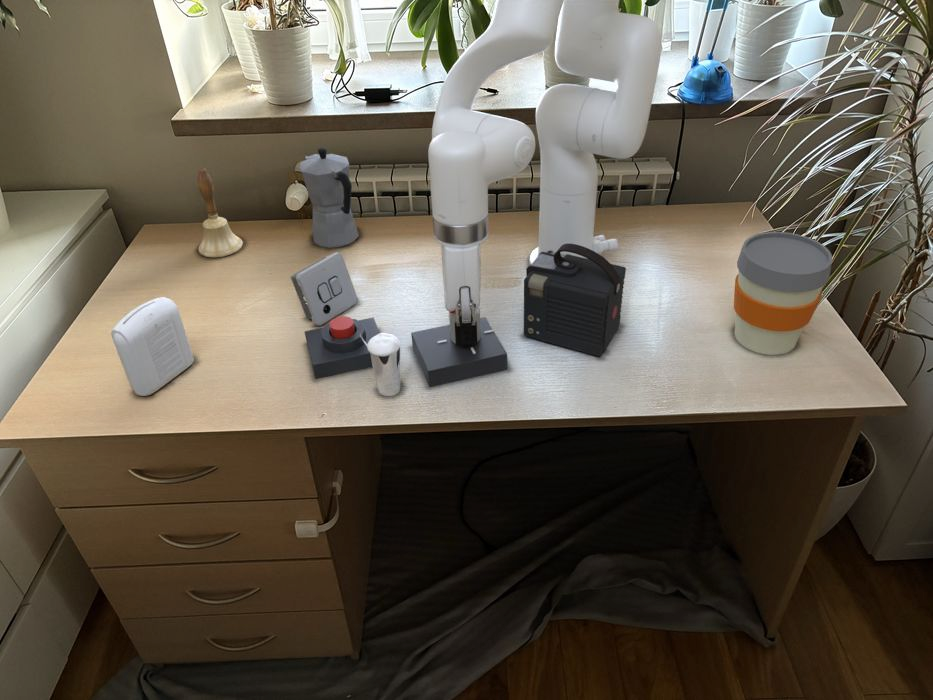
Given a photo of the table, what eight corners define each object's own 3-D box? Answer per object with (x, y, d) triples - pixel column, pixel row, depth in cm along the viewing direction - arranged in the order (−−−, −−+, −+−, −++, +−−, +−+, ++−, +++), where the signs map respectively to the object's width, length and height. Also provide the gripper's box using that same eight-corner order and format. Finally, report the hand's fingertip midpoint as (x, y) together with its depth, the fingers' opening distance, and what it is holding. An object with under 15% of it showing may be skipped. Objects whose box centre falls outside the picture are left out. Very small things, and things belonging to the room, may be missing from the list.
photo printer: (179, 353, 117) (157, 286, 109) (199, 361, 115) (178, 293, 108) (127, 392, 110) (99, 323, 102) (148, 400, 108) (121, 331, 100)
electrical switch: (318, 329, 121) (305, 278, 116) (297, 320, 124) (284, 271, 119) (359, 303, 127) (348, 253, 121) (338, 295, 129) (327, 247, 124)
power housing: (375, 330, 120) (372, 307, 117) (387, 363, 113) (384, 339, 110) (307, 344, 117) (302, 321, 115) (315, 379, 111) (310, 355, 108)
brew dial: (475, 325, 115) (474, 296, 112) (485, 341, 111) (484, 312, 108) (446, 331, 114) (444, 302, 111) (455, 348, 110) (454, 319, 107)
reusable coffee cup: (808, 369, 108) (835, 281, 99) (718, 353, 112) (737, 267, 103) (808, 321, 118) (833, 237, 109) (726, 308, 121) (743, 226, 112)
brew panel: (485, 331, 119) (484, 314, 117) (507, 369, 111) (507, 352, 109) (411, 346, 116) (410, 330, 114) (429, 387, 108) (427, 370, 106)
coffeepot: (298, 232, 147) (281, 144, 136) (340, 217, 152) (327, 131, 141) (336, 262, 137) (321, 170, 126) (380, 246, 142) (369, 156, 131)
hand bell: (235, 232, 148) (216, 156, 138) (248, 249, 142) (229, 171, 133) (193, 244, 145) (171, 166, 135) (205, 262, 139) (183, 182, 129)
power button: (352, 323, 114) (351, 314, 113) (357, 336, 112) (355, 327, 111) (329, 328, 114) (327, 318, 113) (333, 341, 111) (331, 332, 110)
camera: (544, 302, 125) (547, 221, 116) (624, 322, 119) (634, 239, 110) (517, 337, 117) (517, 253, 108) (602, 360, 112) (610, 274, 103)
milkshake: (368, 380, 110) (360, 325, 104) (404, 378, 110) (398, 322, 104) (367, 401, 106) (359, 345, 100) (405, 398, 106) (399, 342, 100)
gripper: (431, 199, 108) (439, 304, 119) (434, 258, 94) (442, 370, 105) (483, 196, 108) (486, 301, 119) (493, 255, 95) (495, 367, 106)
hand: (465, 332), depth 112 cm, fingers closed on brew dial, 4 cm apart
